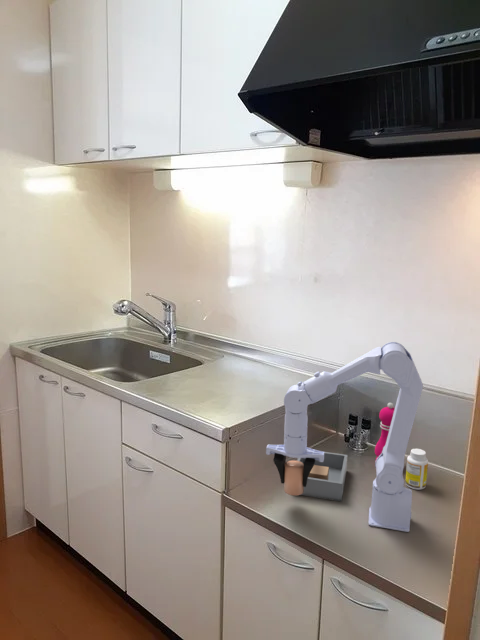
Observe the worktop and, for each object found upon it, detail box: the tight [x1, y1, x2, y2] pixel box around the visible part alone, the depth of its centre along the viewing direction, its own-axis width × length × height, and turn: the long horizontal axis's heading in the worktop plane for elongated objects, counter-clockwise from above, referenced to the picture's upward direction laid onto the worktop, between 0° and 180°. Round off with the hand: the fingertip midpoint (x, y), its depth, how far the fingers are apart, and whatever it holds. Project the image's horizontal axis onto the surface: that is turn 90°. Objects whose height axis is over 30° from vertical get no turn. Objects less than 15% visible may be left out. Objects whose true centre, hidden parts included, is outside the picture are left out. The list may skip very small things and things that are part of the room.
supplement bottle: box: [404, 448, 429, 491], centre depth 140 cm, size 6×6×10 cm
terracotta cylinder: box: [283, 459, 304, 496], centre depth 128 cm, size 5×5×7 cm
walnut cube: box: [308, 465, 329, 480], centre depth 138 cm, size 5×5×5 cm
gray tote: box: [296, 451, 348, 502], centre depth 142 cm, size 14×18×5 cm
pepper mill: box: [374, 402, 395, 462], centre depth 151 cm, size 7×7×20 cm
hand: (294, 483), depth 128 cm, fingers closed on terracotta cylinder, 5 cm apart
